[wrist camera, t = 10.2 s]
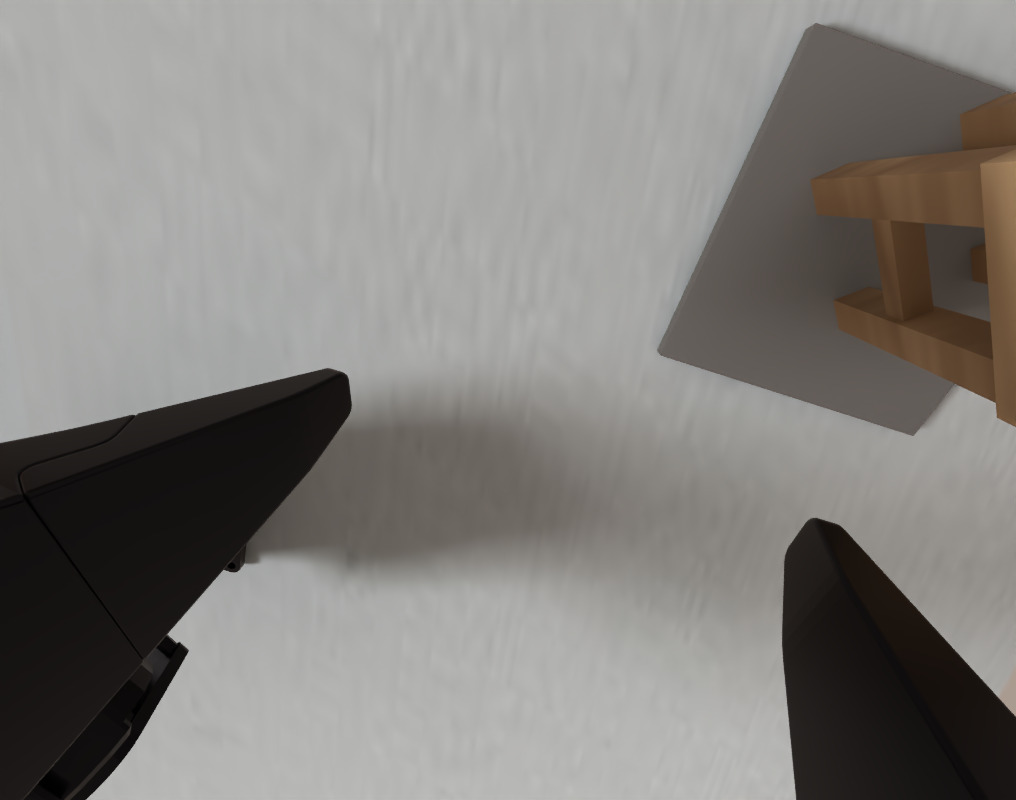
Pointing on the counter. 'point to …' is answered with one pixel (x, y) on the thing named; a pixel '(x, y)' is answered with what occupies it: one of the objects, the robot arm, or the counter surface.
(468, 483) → the counter surface
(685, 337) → the mat
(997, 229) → the stool
